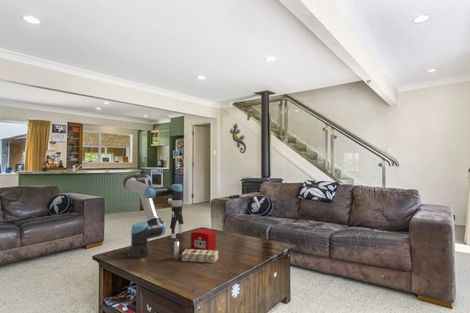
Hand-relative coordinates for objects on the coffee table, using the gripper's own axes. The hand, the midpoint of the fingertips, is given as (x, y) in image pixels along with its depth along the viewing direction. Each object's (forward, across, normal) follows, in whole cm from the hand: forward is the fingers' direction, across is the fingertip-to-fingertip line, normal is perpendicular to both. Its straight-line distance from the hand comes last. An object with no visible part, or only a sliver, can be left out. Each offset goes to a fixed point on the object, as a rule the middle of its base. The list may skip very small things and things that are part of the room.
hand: (176, 235), depth 198 cm
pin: (+17, 0, 0) cm, 17 cm away
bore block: (+17, +2, -17) cm, 24 cm away
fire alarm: (+17, +21, -14) cm, 30 cm away
